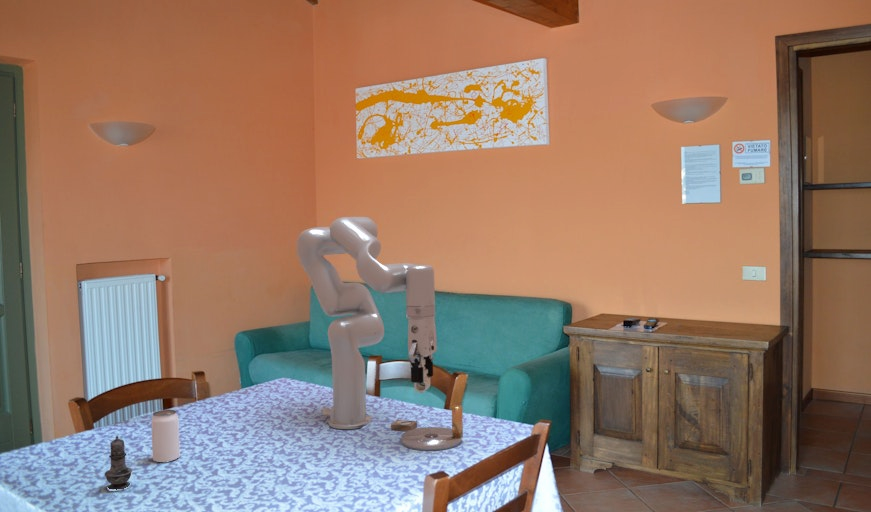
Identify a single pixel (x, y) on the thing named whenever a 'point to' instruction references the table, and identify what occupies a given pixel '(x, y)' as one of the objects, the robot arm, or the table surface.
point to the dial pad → (403, 425)
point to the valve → (426, 378)
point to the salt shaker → (118, 466)
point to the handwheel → (436, 435)
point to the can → (165, 436)
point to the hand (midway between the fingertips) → (422, 378)
